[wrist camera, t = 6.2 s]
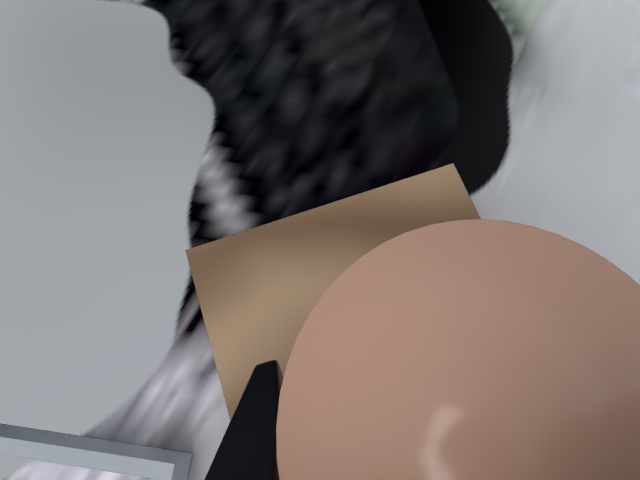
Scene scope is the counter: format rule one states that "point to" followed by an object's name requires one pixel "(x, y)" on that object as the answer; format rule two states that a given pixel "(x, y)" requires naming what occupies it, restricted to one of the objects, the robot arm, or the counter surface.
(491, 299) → the pink tall rounded piece
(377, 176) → the counter surface
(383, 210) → the walnut board
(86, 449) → the grey box
